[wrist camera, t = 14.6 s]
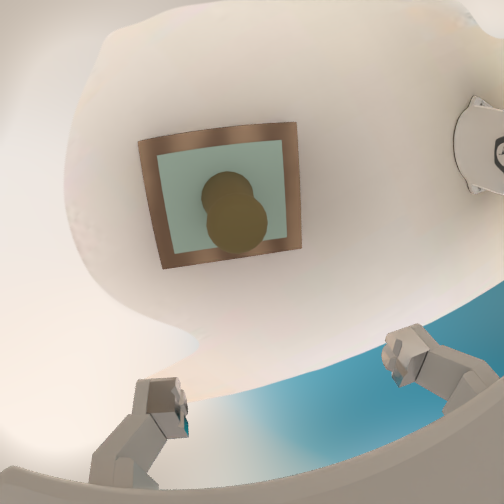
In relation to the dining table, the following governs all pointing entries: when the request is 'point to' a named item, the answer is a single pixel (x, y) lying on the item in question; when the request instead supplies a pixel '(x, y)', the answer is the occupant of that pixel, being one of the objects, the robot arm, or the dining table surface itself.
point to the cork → (233, 213)
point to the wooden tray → (209, 164)
